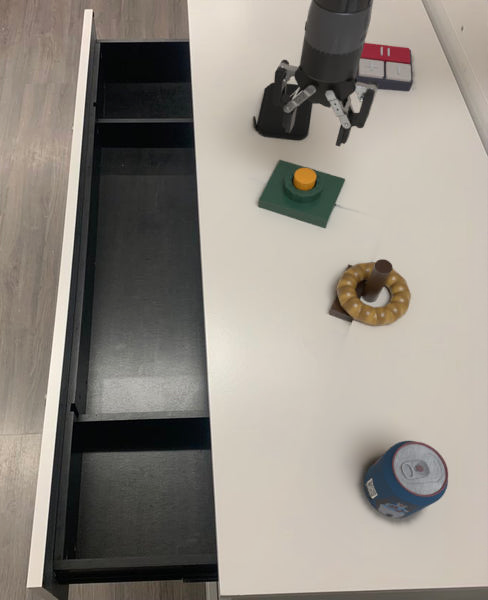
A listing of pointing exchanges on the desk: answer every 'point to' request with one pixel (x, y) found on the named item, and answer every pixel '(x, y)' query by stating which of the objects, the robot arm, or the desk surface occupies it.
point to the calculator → (386, 67)
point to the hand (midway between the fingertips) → (314, 135)
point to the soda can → (406, 479)
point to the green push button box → (301, 195)
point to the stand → (366, 288)
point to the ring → (366, 312)
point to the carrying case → (273, 117)
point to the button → (304, 179)
